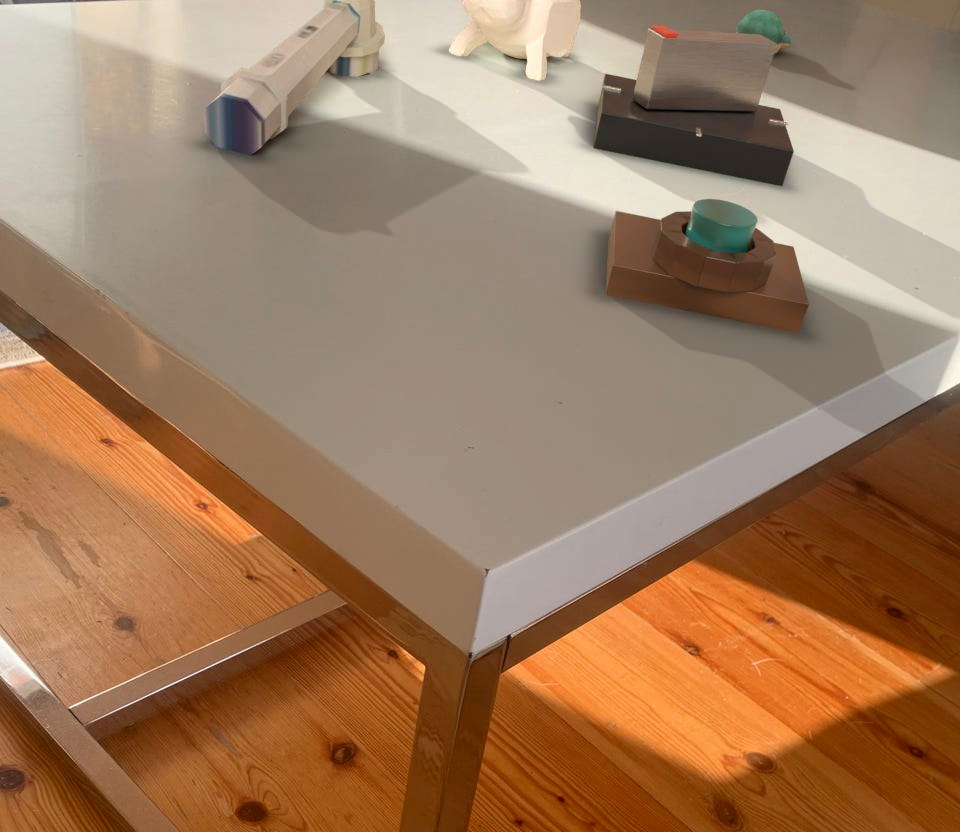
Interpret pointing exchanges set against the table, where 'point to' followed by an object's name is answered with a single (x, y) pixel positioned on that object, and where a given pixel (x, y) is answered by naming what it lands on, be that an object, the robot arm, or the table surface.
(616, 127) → the lever base
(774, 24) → the turtle figurine
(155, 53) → the table surface
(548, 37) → the pig figurine
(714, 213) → the button
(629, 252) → the button block
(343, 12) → the white flashlight
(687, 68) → the red-tipped steel block
